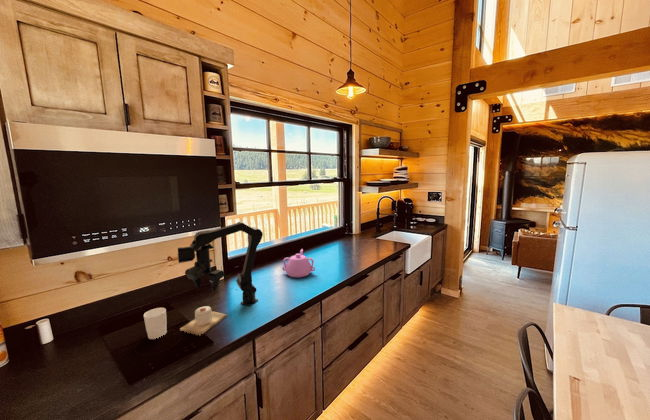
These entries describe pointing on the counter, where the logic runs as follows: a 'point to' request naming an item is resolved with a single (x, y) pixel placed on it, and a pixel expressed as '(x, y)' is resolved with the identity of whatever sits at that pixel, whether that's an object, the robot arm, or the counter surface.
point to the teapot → (298, 265)
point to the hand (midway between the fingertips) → (206, 290)
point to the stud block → (200, 329)
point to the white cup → (155, 322)
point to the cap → (203, 315)
